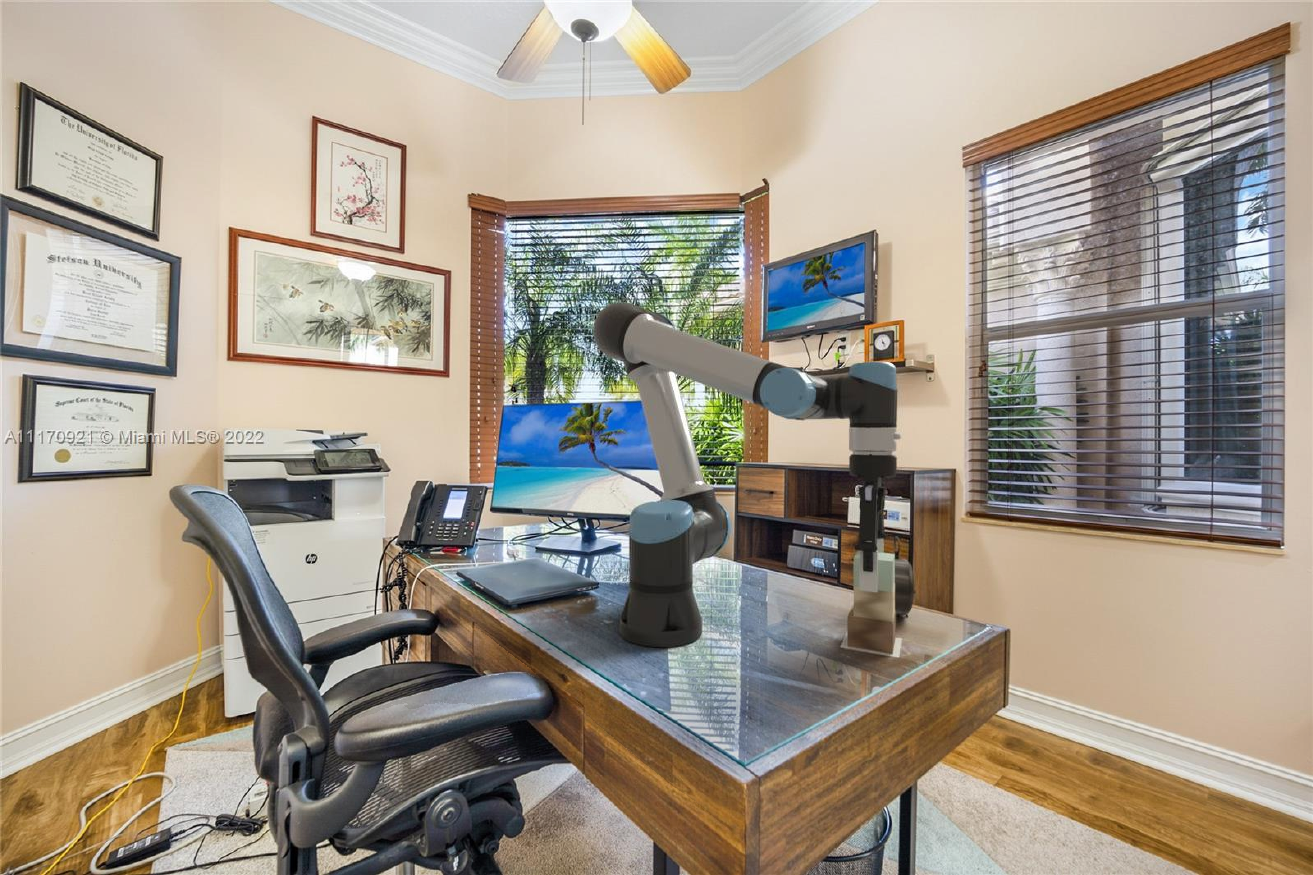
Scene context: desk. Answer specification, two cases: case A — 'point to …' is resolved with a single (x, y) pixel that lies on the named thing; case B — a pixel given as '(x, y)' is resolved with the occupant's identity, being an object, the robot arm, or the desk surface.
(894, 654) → the mat
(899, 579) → the alarm clock
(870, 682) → the desk surface
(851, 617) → the walnut brick
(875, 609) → the maple brick
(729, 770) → the desk surface
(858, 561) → the sage brick
